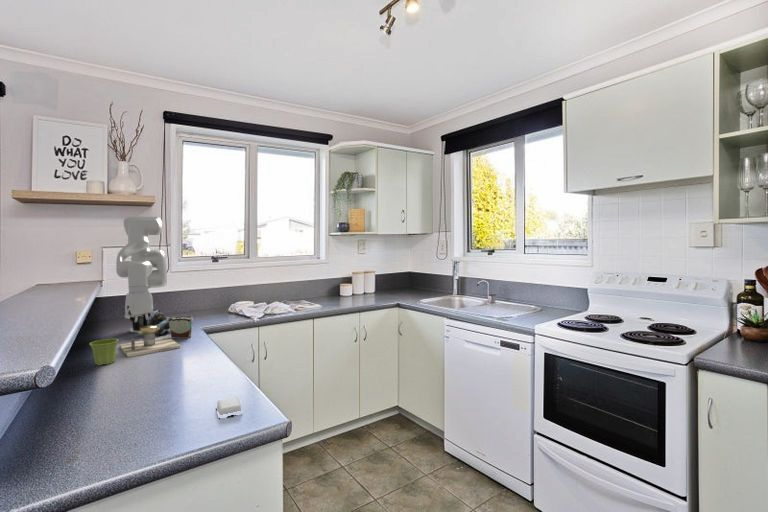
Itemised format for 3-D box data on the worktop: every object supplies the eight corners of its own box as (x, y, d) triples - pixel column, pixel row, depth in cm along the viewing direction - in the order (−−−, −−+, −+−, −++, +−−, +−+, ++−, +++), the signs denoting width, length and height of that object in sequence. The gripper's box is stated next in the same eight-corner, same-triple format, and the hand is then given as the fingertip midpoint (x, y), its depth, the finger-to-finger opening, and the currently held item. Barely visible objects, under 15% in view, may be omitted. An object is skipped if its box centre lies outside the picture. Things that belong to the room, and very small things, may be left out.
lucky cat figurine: (157, 337, 199) (141, 313, 197) (144, 344, 205) (128, 321, 203) (181, 322, 212) (166, 300, 210) (168, 329, 218) (153, 307, 216)
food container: (199, 335, 203) (198, 315, 203) (192, 338, 197) (191, 317, 196) (175, 334, 204) (175, 315, 204) (168, 337, 198) (167, 317, 198)
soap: (214, 408, 117) (214, 399, 117) (239, 404, 121) (239, 394, 120) (217, 421, 109) (217, 410, 109) (244, 415, 113) (243, 405, 112)
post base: (119, 347, 182) (119, 331, 182) (168, 339, 195) (168, 324, 195) (127, 357, 167) (126, 340, 167) (180, 347, 180) (179, 332, 180)
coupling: (127, 331, 182) (127, 317, 182) (148, 327, 189) (147, 314, 189) (142, 334, 175) (141, 320, 175) (163, 330, 183) (162, 317, 183)
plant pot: (85, 365, 158) (84, 343, 157) (111, 358, 166) (110, 337, 166) (98, 368, 153) (97, 345, 153) (124, 361, 162) (123, 340, 161)
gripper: (149, 286, 193) (151, 324, 194) (114, 291, 178) (116, 332, 179) (160, 287, 190) (162, 326, 191) (125, 292, 175) (127, 334, 176)
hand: (140, 329), depth 185 cm, fingers open, 3 cm apart
